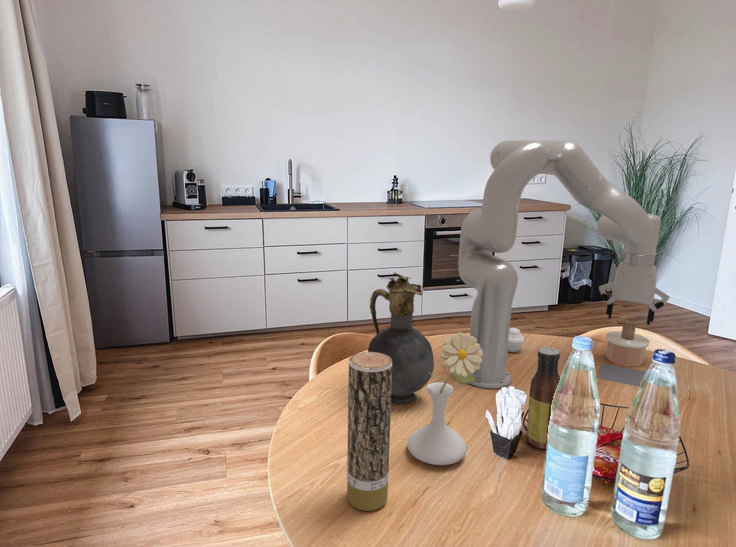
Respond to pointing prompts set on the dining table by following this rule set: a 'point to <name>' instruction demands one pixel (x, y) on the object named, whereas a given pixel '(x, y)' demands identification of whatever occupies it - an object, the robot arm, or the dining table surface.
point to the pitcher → (402, 341)
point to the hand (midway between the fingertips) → (628, 320)
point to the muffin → (515, 340)
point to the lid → (627, 337)
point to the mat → (621, 374)
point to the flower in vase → (437, 437)
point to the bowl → (625, 355)
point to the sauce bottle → (542, 396)
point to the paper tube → (368, 429)
